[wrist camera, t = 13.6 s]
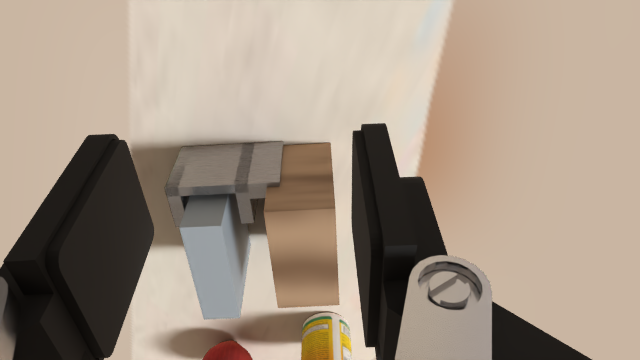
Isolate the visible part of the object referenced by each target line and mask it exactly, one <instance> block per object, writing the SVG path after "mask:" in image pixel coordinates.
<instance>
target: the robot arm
mask: <svg viewBox="0 0 640 360" xmlns="http://www.w3.org/2000/svg"><path fill="white" fill-rule="evenodd" d="M352 233H353V242H354V250H355V259H356V268H357V277H358V286H359V294H360V303H361V312H362V321H363V330H364V338H365V345H366V347H375V352H376V360H592V359H590V358H588V357H587V356H585V355H583V354H581V353H580V352H578V351H576V350H575V349H573V348H571V347H569V346H568V345H566V344H564V343H562V342H561V341H559V340H557V339H556V338H554V337H552V336H551V335H549V334H547V333H545V332H544V331H542V330H540V329H539V328H537V327H535V326H533V325H532V324H530V323H528V322H526V321H525V320H523V319H522V318H520V317H518V316H516V315H515V314H513V313H511V312H510V311H508V310H506V309H504V308H503V307H501V306H499V305H497V304H496V303H494V302H492V291H491V285H490V282H489V280H488V279H487V277H486V275H485V274H484V273H483V272H482V271H481V270H480V269H479V268H478V267H477V266H476V265H474V264H472V263H470V262H468V261H466V260H465V259H461V258H458V257H454V256H448V255H447V251H446V249H445V245H444V242H443V240H442V236H441V233H440V230H439V227H438V224H437V221H436V217H435V214H434V211H433V208H432V205H431V202H430V199H429V196H428V193H427V189H426V186H425V183H424V181H423V179H422V178H421V177H399V173H398V169H397V165H396V161H395V157H394V154H393V150H392V146H391V142H390V138H389V134H388V131H387V127H386V124H385V123H382V124H362V126H361V130H360V131H353V144H352ZM153 236H154V227H153V223H152V220H151V217H150V213H149V210H148V207H147V204H146V201H145V198H144V195H143V192H142V189H141V186H140V182H139V179H138V176H137V173H136V170H135V167H134V164H133V161H132V158H131V155H130V151H129V148H128V145H127V143H126V142H125V141H124V140H119V138H118V137H117V136H116V135H115V134H105V135H88V136H87V137H86V139H85V140H84V142H83V143H82V145H81V146H80V148H79V149H78V151H77V152H76V154H75V155H74V157H73V158H72V160H71V161H70V163H69V164H68V166H67V167H66V168H65V170H64V172H63V173H62V175H61V176H60V177H59V179H58V180H57V182H56V183H55V185H54V187H53V188H52V190H51V191H50V193H49V194H48V195H47V197H46V198H45V200H44V201H43V203H42V204H41V206H40V207H39V209H38V210H37V212H36V213H35V215H34V216H33V218H32V219H31V221H30V222H29V224H28V225H27V227H26V228H25V230H24V231H23V233H22V234H21V236H20V237H19V239H18V240H17V242H16V243H15V245H14V246H13V248H12V249H11V251H10V252H9V254H8V255H7V257H6V258H5V259H4V261H3V262H4V264H3V265H2V267H1V268H0V360H104V358H108V357H110V356H111V355H112V353H113V351H114V348H115V345H116V342H117V339H118V337H119V334H120V331H121V328H122V325H123V322H124V320H125V317H126V314H127V311H128V308H129V305H130V303H131V300H132V297H133V294H134V291H135V289H136V286H137V283H138V280H139V277H140V275H141V272H142V269H143V266H144V263H145V260H146V258H147V255H148V252H149V249H150V246H151V243H152V241H153Z"/></svg>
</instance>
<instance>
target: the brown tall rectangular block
mask: <svg viewBox="0 0 640 360" xmlns="http://www.w3.org/2000/svg"><path fill="white" fill-rule="evenodd" d="M264 218H265V225H266V231H267V238H268V244H269V251H270V258H271V264H272V271H273V278H274V284H275V291H276V297H277V304H278V308H287V307H308V306H328V305H339V286H338V263H337V239H336V216H335V199H334V185H333V171H332V158H331V144H330V143H318V144H300V145H283V157H282V169H281V181H280V187H267V189H266V197H265V205H264Z"/></svg>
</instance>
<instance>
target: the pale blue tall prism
mask: <svg viewBox="0 0 640 360" xmlns="http://www.w3.org/2000/svg"><path fill="white" fill-rule="evenodd" d="M179 229H180V233H181V236H182V240H183V244H184V247H185V251H186V255H187V259H188V262H189V266H190V270H191V273H192V277H193V281H194V285H195V288H196V292H197V296H198V299H199V303H200V307H201V310H202V314H203V318H204V319H227V318H240V314H241V307H242V300H243V293H244V286H245V279H246V272H247V265H248V259H249V252H250V245H251V244H250V238H249V232H248V226H247V223H245V224H241V219H240V214H239V209H238V203H237V198H236V193H229V194H210V195H191V196H190V197H189V200H188V203H187V206H186V209H185V212H184V215H183V218H182V221H181V224H180V227H179Z"/></svg>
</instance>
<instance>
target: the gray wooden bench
mask: <svg viewBox="0 0 640 360" xmlns="http://www.w3.org/2000/svg"><path fill="white" fill-rule="evenodd" d="M282 157H283V141H280V142H261V143H243V144H224V145H206V146H187V147H182V148H181V150H180V152H179V155H178V157H177V160H176V162H175V164H174V167H173V169H172V172H171V174H170V176H169V179H168V181H167V184H166V186H165V191H166V195H167V198H168V202H169V205H170V209H171V212H172V216H173V219H174V223H175V226H176V227H180V224H181V221H182V218H183V215H184V212H185V209H186V206H187V203H188V200H189V197H190V196H191V195H210V194H229V193H236V198H237V203H238V209H239V214H240V219H241V224H245V223H254V219H255V212H256V205H257V198H265V197H266V189H267V187H280V181H281V169H282Z"/></svg>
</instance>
